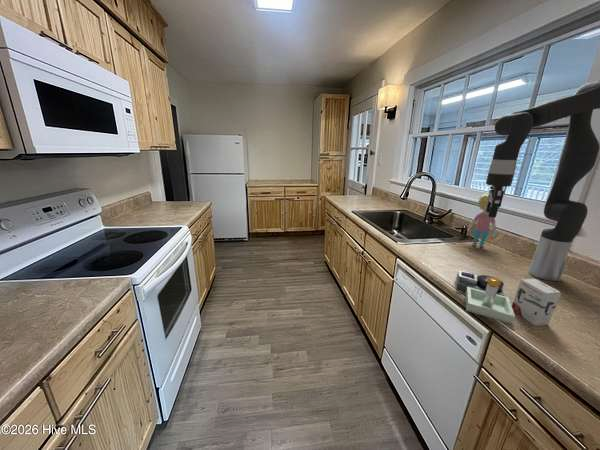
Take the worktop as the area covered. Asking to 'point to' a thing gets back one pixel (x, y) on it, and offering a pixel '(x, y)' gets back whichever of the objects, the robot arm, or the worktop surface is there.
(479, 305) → the tray
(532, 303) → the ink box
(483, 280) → the tensioner block
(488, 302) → the pin
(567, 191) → the robot arm
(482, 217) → the toy
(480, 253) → the worktop surface
